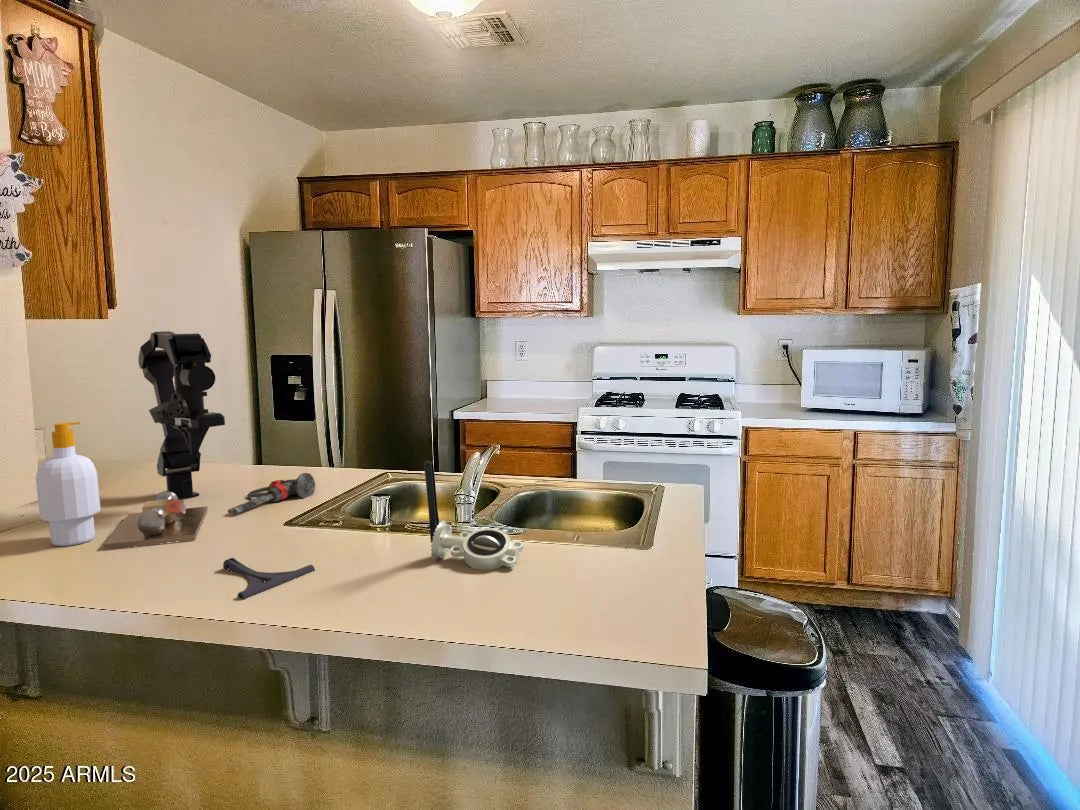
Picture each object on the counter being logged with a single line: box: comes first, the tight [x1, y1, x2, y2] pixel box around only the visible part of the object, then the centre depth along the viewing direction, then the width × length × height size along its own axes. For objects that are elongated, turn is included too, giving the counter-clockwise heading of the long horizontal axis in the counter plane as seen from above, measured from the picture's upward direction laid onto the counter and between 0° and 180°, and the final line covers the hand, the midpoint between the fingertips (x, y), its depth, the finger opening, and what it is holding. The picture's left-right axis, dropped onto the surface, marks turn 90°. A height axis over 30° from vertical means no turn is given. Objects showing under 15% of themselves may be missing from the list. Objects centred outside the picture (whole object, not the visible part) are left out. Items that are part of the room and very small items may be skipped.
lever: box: [167, 499, 187, 514], centre depth 144 cm, size 2×2×12 cm
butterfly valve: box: [423, 460, 524, 571], centre depth 124 cm, size 9×20×17 cm
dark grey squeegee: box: [222, 557, 316, 600], centre depth 121 cm, size 14×15×3 cm
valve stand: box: [103, 490, 209, 551], centre depth 147 cm, size 22×16×6 cm
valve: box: [227, 472, 316, 515], centre depth 169 cm, size 6×26×15 cm
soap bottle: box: [35, 421, 101, 547], centre depth 139 cm, size 10×10×24 cm
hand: (194, 454), depth 161 cm, fingers closed
